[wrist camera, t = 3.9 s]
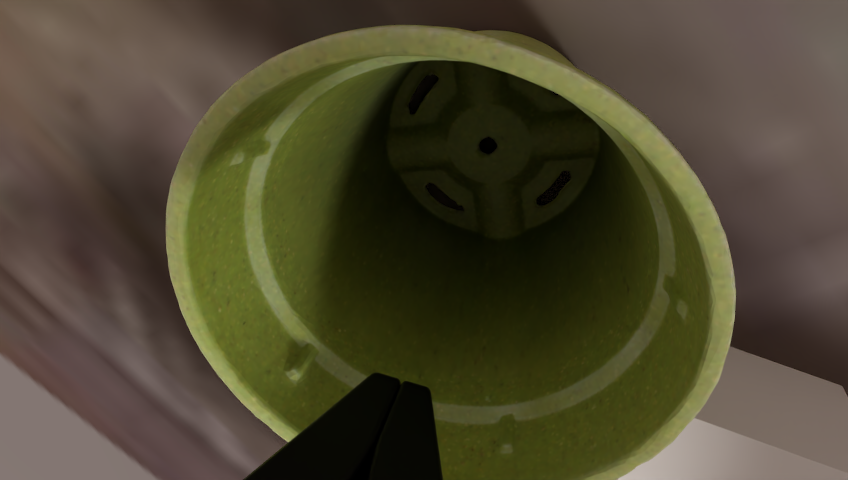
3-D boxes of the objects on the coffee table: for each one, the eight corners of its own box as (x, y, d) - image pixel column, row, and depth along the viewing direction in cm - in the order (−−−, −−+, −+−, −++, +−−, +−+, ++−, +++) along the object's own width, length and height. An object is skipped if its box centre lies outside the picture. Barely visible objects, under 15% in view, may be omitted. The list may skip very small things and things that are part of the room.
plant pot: (442, -128, 14) (291, -135, 7) (751, 100, 15) (897, 301, 8) (289, 164, 19) (108, 335, 12) (528, 322, 20) (493, 568, 13)
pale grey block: (840, 381, 19) (893, 489, 16) (738, 491, 22) (764, 600, 19) (655, 316, 19) (669, 408, 16) (581, 434, 23) (580, 531, 19)
